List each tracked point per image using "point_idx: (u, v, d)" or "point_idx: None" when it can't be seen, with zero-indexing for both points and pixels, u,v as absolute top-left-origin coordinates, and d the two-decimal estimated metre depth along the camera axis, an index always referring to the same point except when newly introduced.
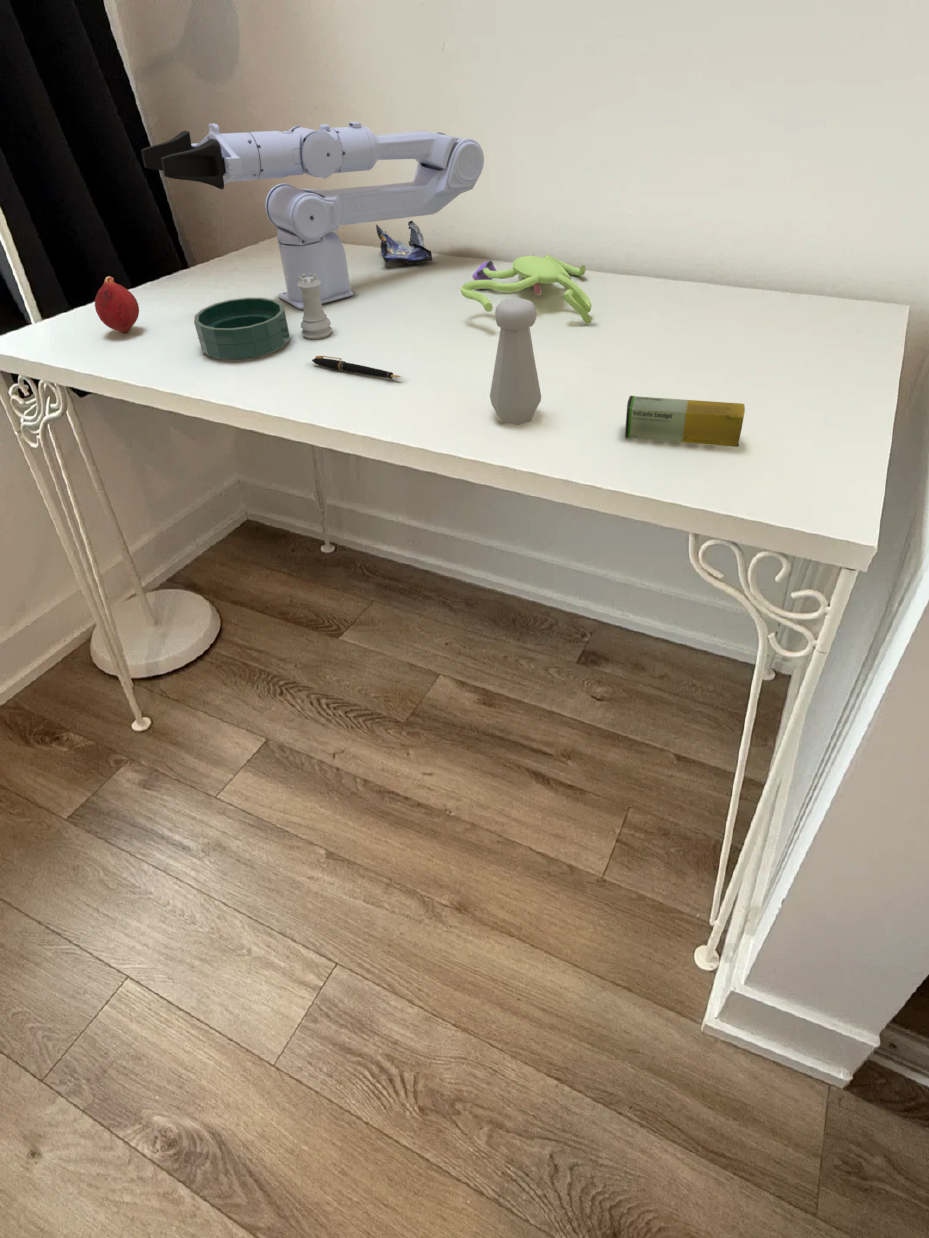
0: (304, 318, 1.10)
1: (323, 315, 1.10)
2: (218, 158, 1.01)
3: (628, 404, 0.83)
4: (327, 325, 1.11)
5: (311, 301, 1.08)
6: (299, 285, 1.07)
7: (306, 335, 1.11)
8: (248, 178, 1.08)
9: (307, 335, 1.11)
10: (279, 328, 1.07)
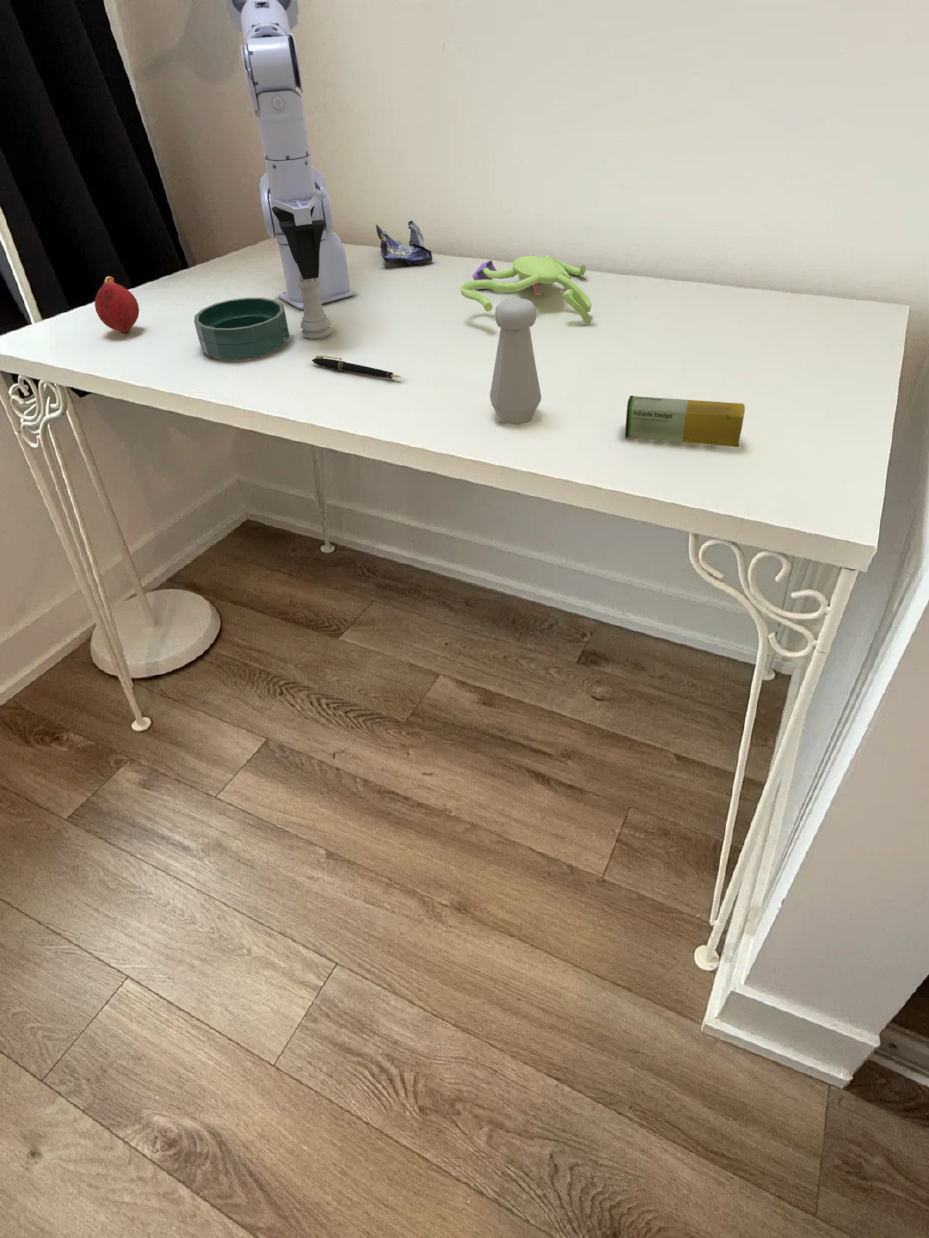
0: (304, 318, 1.10)
1: (323, 315, 1.10)
2: None
3: (628, 404, 0.83)
4: (327, 325, 1.11)
5: (311, 301, 1.08)
6: (299, 285, 1.07)
7: (306, 335, 1.11)
8: None
9: (307, 335, 1.11)
10: (279, 328, 1.07)
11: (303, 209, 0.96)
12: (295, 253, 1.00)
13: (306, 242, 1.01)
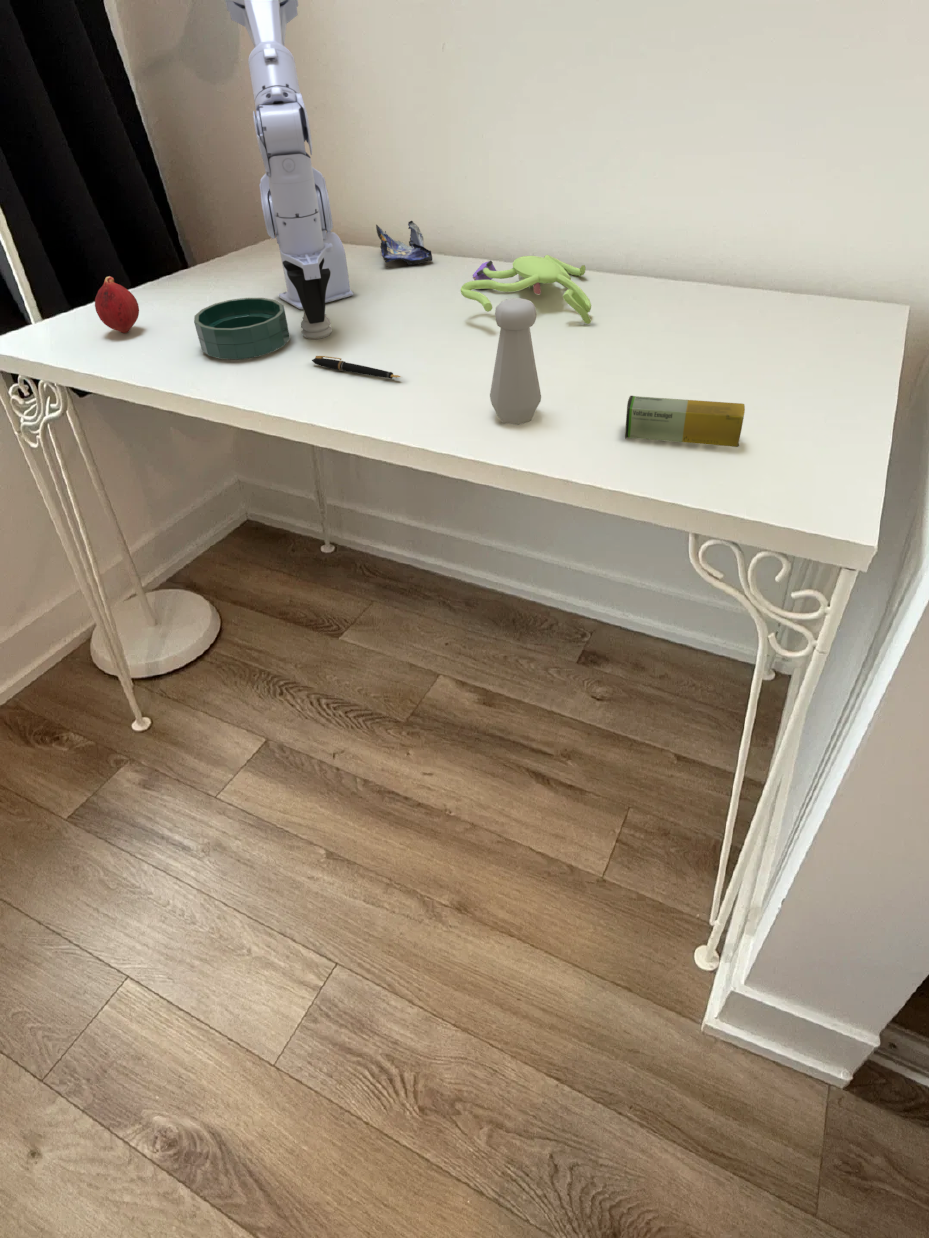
0: (304, 318, 1.10)
1: None
2: None
3: (628, 404, 0.83)
4: (327, 325, 1.11)
5: None
6: None
7: (306, 335, 1.11)
8: None
9: (307, 335, 1.11)
10: (279, 328, 1.07)
11: (312, 265, 1.00)
12: (302, 300, 1.06)
13: (312, 289, 1.06)
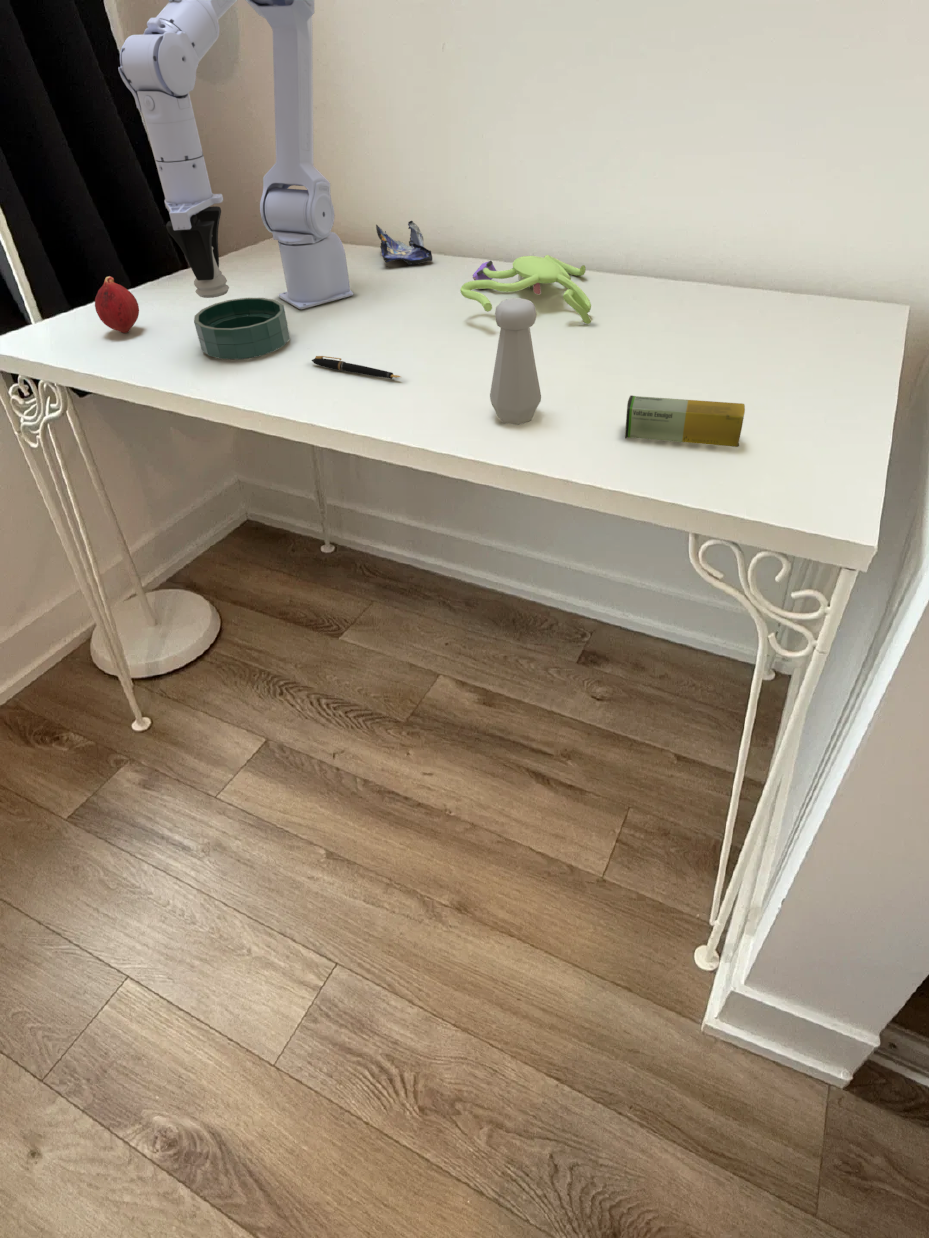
0: None
1: (215, 272, 1.03)
2: None
3: (628, 404, 0.83)
4: (219, 284, 1.03)
5: None
6: None
7: (197, 293, 1.04)
8: None
9: (198, 293, 1.04)
10: (279, 328, 1.07)
11: (179, 214, 0.92)
12: (185, 253, 0.99)
13: (197, 243, 0.99)
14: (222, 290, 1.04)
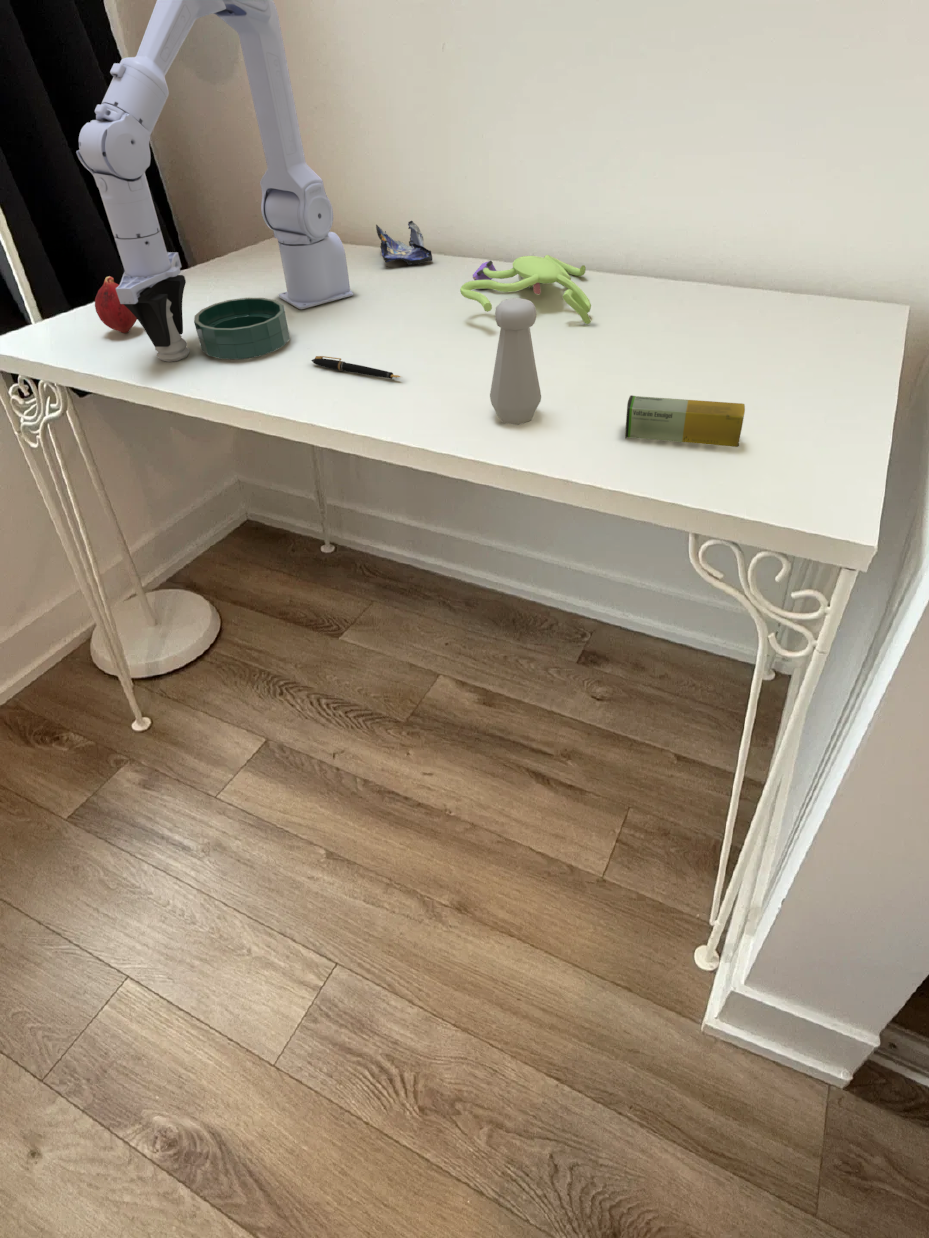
0: None
1: (173, 338, 1.06)
2: None
3: (628, 404, 0.83)
4: (176, 349, 1.06)
5: None
6: None
7: (157, 356, 1.08)
8: None
9: (158, 356, 1.07)
10: (279, 328, 1.07)
11: (125, 289, 0.96)
12: (140, 322, 1.03)
13: (152, 313, 1.02)
14: (179, 355, 1.07)
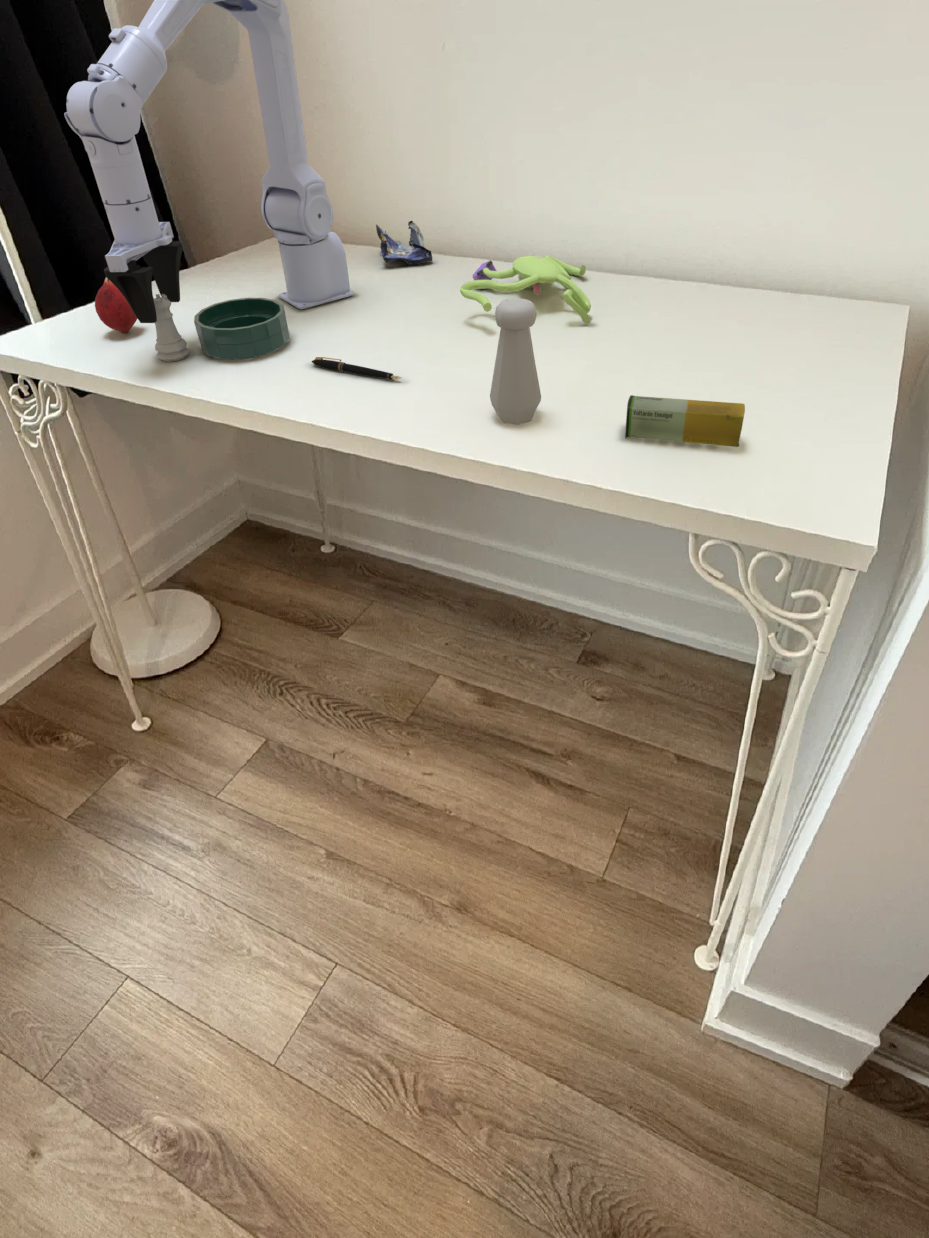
0: (157, 338, 1.07)
1: (173, 338, 1.06)
2: None
3: (628, 404, 0.83)
4: (176, 349, 1.06)
5: (158, 322, 1.05)
6: None
7: (157, 356, 1.08)
8: None
9: (158, 356, 1.07)
10: (279, 328, 1.07)
11: (114, 257, 0.93)
12: (125, 297, 0.99)
13: (137, 287, 0.98)
14: (179, 355, 1.07)
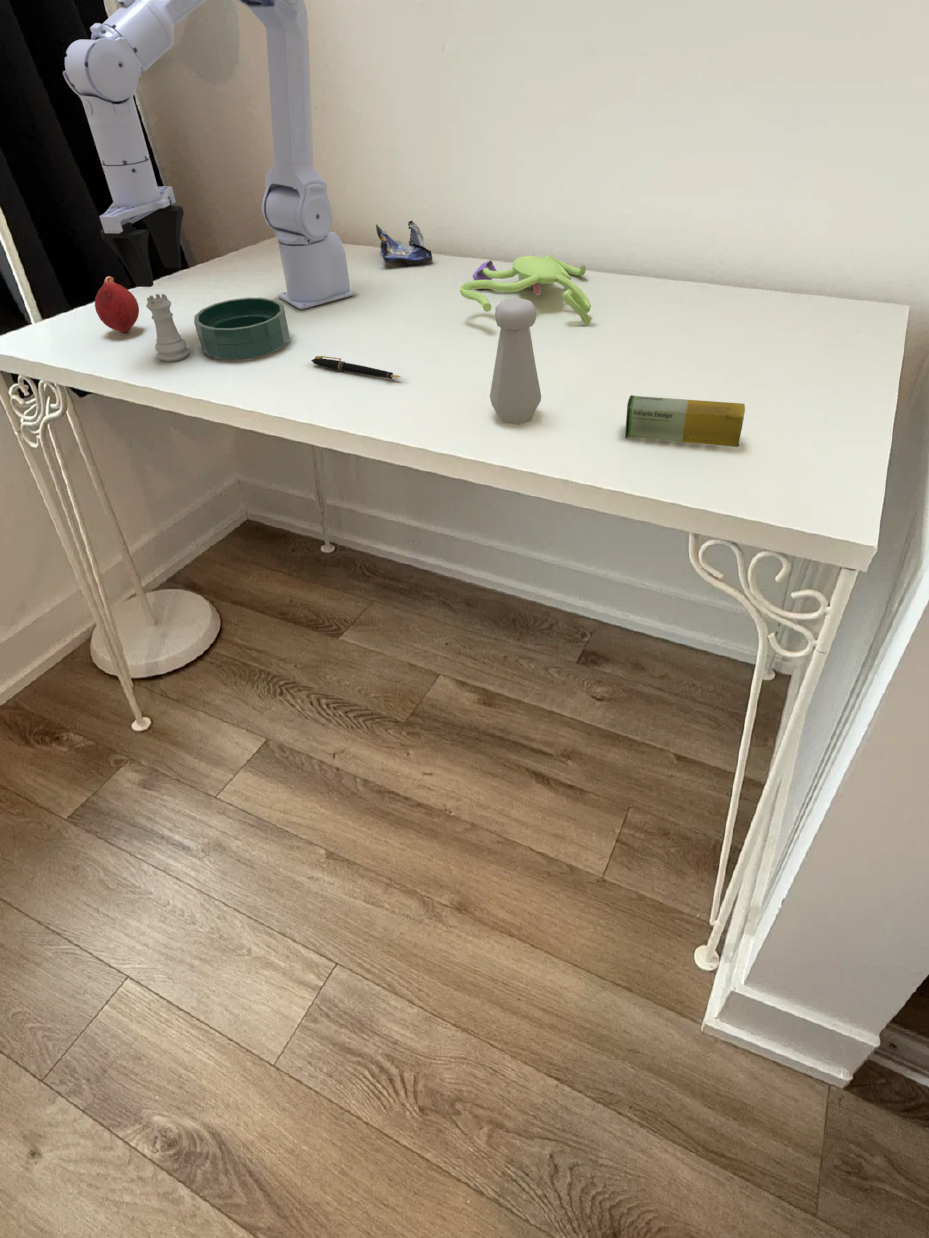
0: (157, 338, 1.07)
1: (173, 338, 1.06)
2: None
3: (628, 404, 0.83)
4: (176, 349, 1.06)
5: (158, 322, 1.05)
6: None
7: (157, 356, 1.08)
8: None
9: (158, 356, 1.07)
10: (279, 328, 1.07)
11: (108, 218, 0.93)
12: (121, 259, 0.99)
13: (133, 250, 0.98)
14: (179, 355, 1.07)
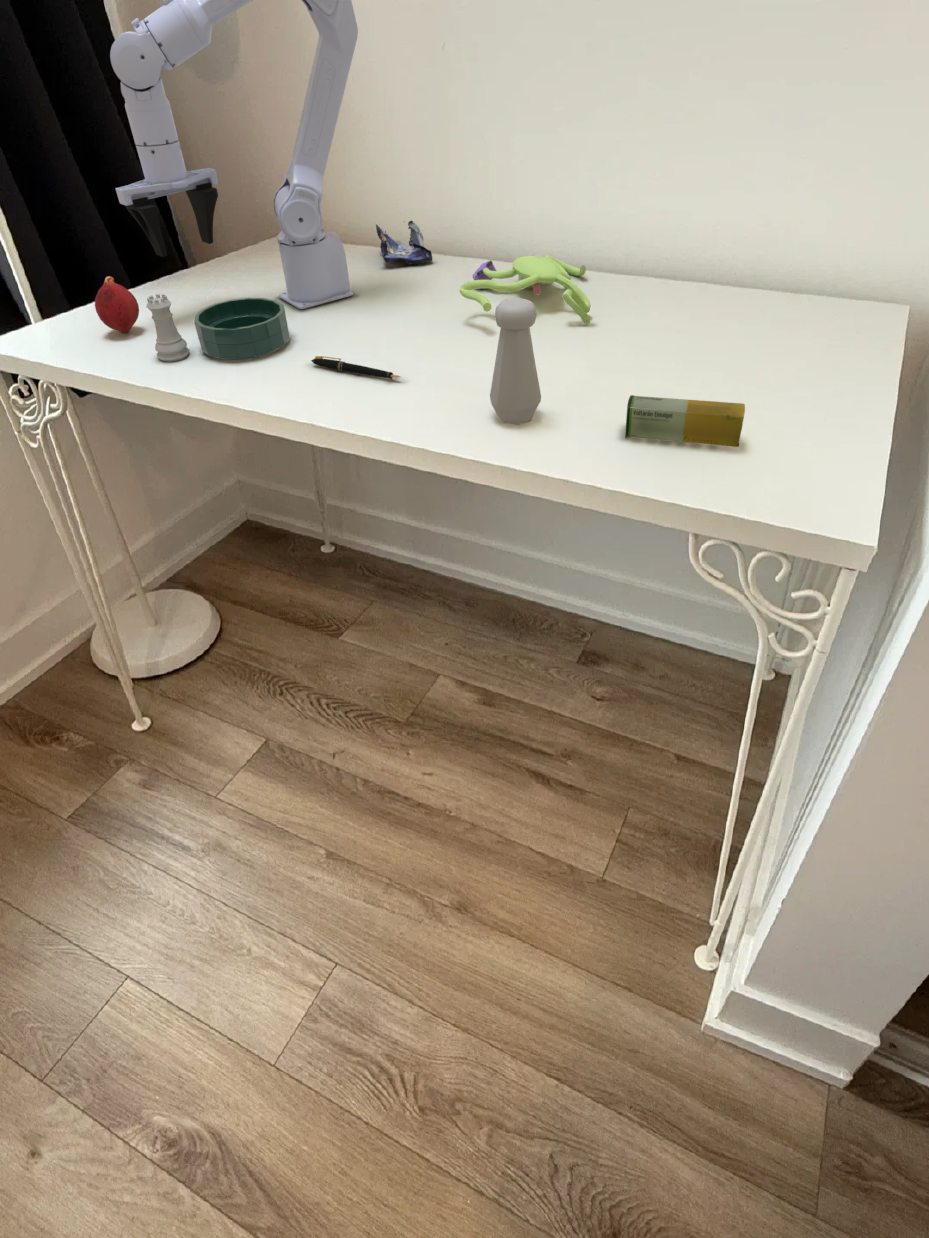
0: (157, 338, 1.07)
1: (173, 338, 1.06)
2: None
3: (628, 404, 0.83)
4: (176, 349, 1.06)
5: (158, 322, 1.05)
6: None
7: (157, 356, 1.08)
8: None
9: (158, 356, 1.07)
10: (279, 328, 1.07)
11: (120, 191, 1.05)
12: (142, 228, 1.11)
13: None
14: (179, 355, 1.07)
